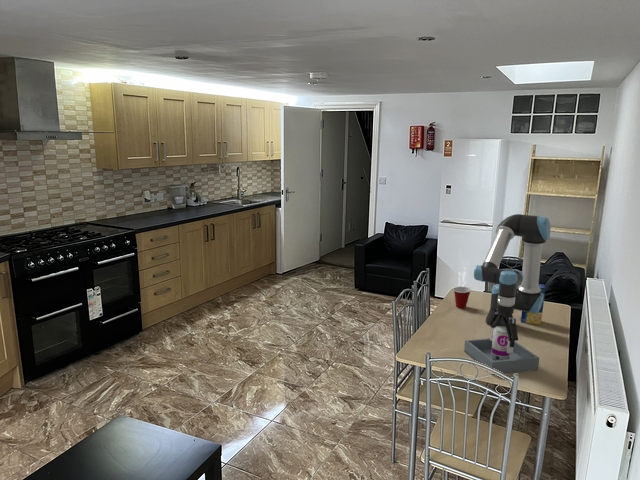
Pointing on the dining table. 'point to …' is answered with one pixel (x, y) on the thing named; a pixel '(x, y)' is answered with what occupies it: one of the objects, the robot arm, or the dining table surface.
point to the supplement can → (500, 344)
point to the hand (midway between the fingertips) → (501, 346)
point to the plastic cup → (461, 296)
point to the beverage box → (533, 317)
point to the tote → (515, 363)
